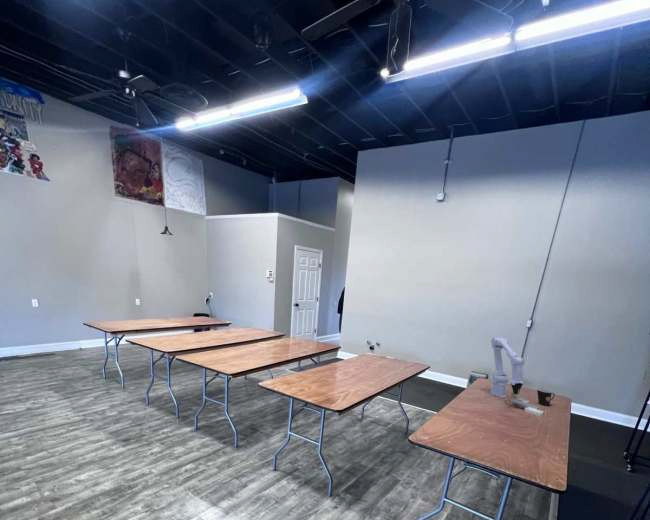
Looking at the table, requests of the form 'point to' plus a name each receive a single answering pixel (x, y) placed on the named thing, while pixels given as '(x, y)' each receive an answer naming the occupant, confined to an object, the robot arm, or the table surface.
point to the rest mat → (524, 404)
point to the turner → (518, 397)
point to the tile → (534, 411)
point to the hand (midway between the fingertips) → (516, 393)
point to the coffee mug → (544, 397)
